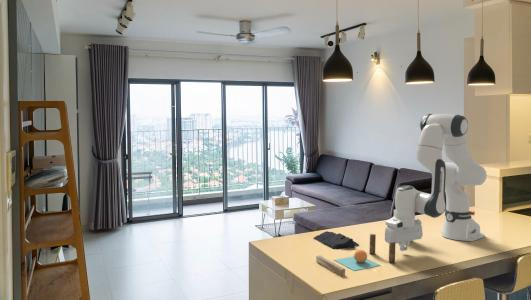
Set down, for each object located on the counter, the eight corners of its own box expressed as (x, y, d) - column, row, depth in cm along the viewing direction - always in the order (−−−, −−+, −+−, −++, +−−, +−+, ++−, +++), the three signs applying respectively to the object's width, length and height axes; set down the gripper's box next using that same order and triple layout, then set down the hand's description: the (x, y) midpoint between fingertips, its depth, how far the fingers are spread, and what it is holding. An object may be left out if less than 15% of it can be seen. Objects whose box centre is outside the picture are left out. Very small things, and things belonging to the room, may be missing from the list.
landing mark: (359, 255, 191) (359, 255, 191) (380, 265, 178) (380, 265, 178) (334, 260, 185) (334, 259, 185) (354, 270, 172) (354, 270, 172)
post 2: (391, 261, 184) (392, 241, 183) (396, 263, 181) (396, 242, 181) (387, 262, 183) (388, 241, 182) (391, 263, 180) (392, 243, 179)
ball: (349, 252, 182) (353, 263, 184) (358, 256, 177) (362, 267, 179) (358, 245, 184) (362, 256, 186) (367, 249, 179) (371, 259, 181)
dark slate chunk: (335, 235, 224) (335, 226, 224) (361, 247, 204) (361, 237, 204) (310, 239, 218) (310, 230, 217) (335, 251, 198) (335, 242, 197)
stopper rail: (320, 260, 184) (320, 255, 184) (345, 275, 168) (345, 269, 168) (316, 261, 183) (316, 256, 183) (341, 275, 167) (341, 269, 167)
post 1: (372, 252, 195) (373, 233, 194) (376, 254, 193) (376, 235, 192) (368, 253, 194) (368, 234, 193) (371, 255, 192) (372, 235, 191)
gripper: (416, 217, 199) (415, 245, 201) (382, 221, 190) (382, 251, 192) (426, 220, 194) (425, 249, 195) (392, 225, 185) (391, 255, 186)
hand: (403, 250), depth 193 cm, fingers closed
